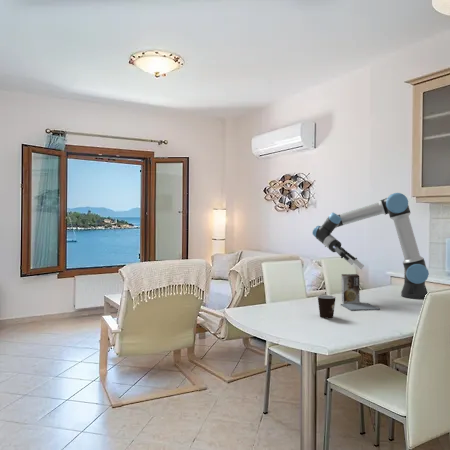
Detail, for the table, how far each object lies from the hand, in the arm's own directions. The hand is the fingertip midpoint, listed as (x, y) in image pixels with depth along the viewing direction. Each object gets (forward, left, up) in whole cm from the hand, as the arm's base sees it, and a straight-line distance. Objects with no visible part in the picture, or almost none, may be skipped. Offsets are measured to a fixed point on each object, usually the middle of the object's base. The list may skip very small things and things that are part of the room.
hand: (358, 265), depth 244 cm
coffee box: (+5, +2, -22) cm, 22 cm away
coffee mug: (+29, +33, -22) cm, 49 cm away
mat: (+5, +14, -21) cm, 26 cm away
